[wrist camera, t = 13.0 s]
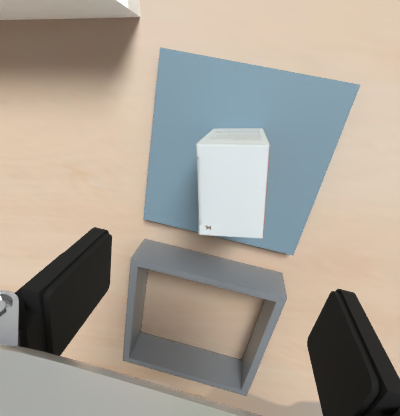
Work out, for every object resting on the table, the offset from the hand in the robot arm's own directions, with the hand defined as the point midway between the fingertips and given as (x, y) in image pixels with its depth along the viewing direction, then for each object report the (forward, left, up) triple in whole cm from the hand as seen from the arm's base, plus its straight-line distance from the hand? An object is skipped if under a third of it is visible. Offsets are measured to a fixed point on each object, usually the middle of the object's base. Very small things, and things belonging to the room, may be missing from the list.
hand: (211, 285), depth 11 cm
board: (0, 0, -23) cm, 23 cm away
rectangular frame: (0, +24, -23) cm, 33 cm away
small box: (0, 0, -22) cm, 22 cm away
